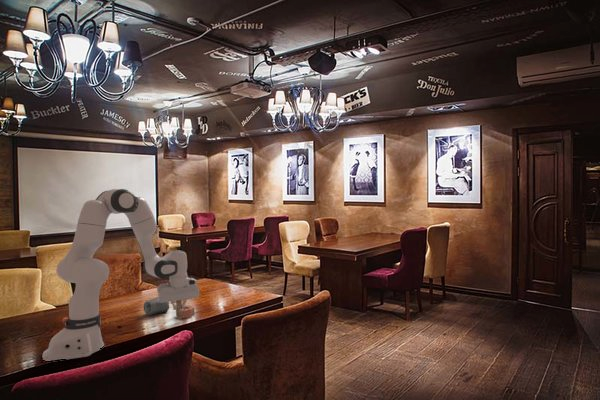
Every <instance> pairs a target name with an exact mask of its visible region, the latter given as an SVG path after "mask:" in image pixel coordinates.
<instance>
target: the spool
mask: <svg viewBox="0 0 600 400" xmlns="http://www.w3.org/2000/svg"><path fill="white" fill-rule="evenodd" d="M169 310H170V302H164V303H160V302H159V301H158V297H156V298H151V299H150V300H146V301H145V302H144V304H143V311H144V314H146V316H152V315H156V314H161V313H165V312H168V311H169Z"/></svg>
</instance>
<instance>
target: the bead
mask: <svg viewBox="0 0 600 400" xmlns="http://www.w3.org/2000/svg"><path fill="white" fill-rule="evenodd" d="M195 311H196V310H195V306H193V305H188V304H187V305H186V304H185V308H183V309H181V314H182V318H181V319H188V318H192V317H193V316H194V315H195V314H196V313H195ZM175 316H176V317H177V310H175Z"/></svg>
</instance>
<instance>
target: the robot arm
mask: <svg viewBox="0 0 600 400" xmlns="http://www.w3.org/2000/svg"><path fill="white" fill-rule="evenodd" d="M151 209H152V208H151V207H150V205H149V204H148V202H147V200H146V199H145V198H144V197H142V196H135V194H134V193H133V192H132V191H131V190H129V189H125V188H119V189H116V188H115V189H110V190H109V189H108V190H105V191H102V192H101V193H99V195H98V196H97V197H96V198H95V199H90V200H87V201H85V203H83V205H82V208H81V210H80V213H79V217H78V220H77V224H76V229H75V233H74V238H73V241H72V244H71V245H70V248H69V250H68V252H67V254H66V255H65V257H63V259H61V260H60V261H59V262H58V264H57V265H56V274H57V276H58V277H59V278H60V279H61V280H63V281H65V282H68V283H71V284H72V283H73V284H75V288H74V292H73V294H72V296H70V297H69V299H68V314H69V315H68V316H69V317H67V316H66V317H63V319H62V323H63V328H62V329H61V330H60V331H58V333H56V334H55V335H54V336H53V337H52V338H51V339H50V340H49V341H50V342H49V344H48V348H47V349H45V350H44V351H43V353H42V355H41V356H42V358H43V359H42V360H45V361H51V360H57V359H66V360H71V359H72V360H73V359H79V358H86V357H90V356H91V355H92V354H94V353H96V352H98V351H100V350H101V349H100V348H102V347H103V346H104V347H105V343H104V340H103V337H102V332H101V325H102V323H101V322H102V321H101V320H102V319H101V314H100V310H99V309H100V305H99V300H100V299H99V298H100V293H101V288H102V286H103V284H104V282H105V281H107V280H108V278H109V275H110V267H109V265H108V263H106V262H104V261H103V260H101V259H99V258H93V257H94V255H95V253H96V251H98V249H100V248H101V246H103V243H104V238H105V233H106V228H107V221H108V218H109V217H110V215H111V214H114V215H115V214H116V215H118V214H125V216H126V218H127V219H128V223H129V224H130V227H131V229H132V231H133V233H134V236H135V238H136V240H137V243H138V246H139V249H140V252H141V255H142V258H143V263H142V266H143V271H144V273H145V274H146V275H148V276H151V277H155V278H158V279H166V278H168V279H169V280H168V281H169V282H166V283H160V284H159V285H157V288H156V290H157V298H158V301H159V302H160V303H164V302H169V303H171V305H172V307H173V308H172V309H173V310H174V311H176V309H177V306H176V304H175V303H176V301H178V300H181V301H183V302H182V303H181V309H183V308H185V305H186V303H187V300H189V299H191V300H192V299H197V298H199V296H200V289H199V285H197V284H198V281H197V279H196V278H194V277H189V276H188V272H187V271H188V258H187V257H188V255H187V253H186V252H185V251H184V250H179V249H178V250H177V249H171V250H170V251H169V252H168V253H167V254H166V255H163V256H162V257H161V256H160V255H158V254H157V252H156V249H155V246H154V244H153V243H154V242H153V240H152V239H153V238H152V237H153V235H154V234H155V233H156V230H157V229H158V228H157V222H156V219H155V216H154V213H153V211H152V210H151ZM104 347H103V348H104ZM103 348H102V349H103ZM45 361H44V362H45Z"/></svg>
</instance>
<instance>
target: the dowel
mask: <svg viewBox="0 0 600 400" xmlns="http://www.w3.org/2000/svg"><path fill="white" fill-rule="evenodd" d="M175 303H176V304H175V305H176V306H177V309H176V310H177V316H176V319H178V320H179V319H183V318H182V314H181V304H182V300H178V301H175ZM176 310H175V311H176Z"/></svg>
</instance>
